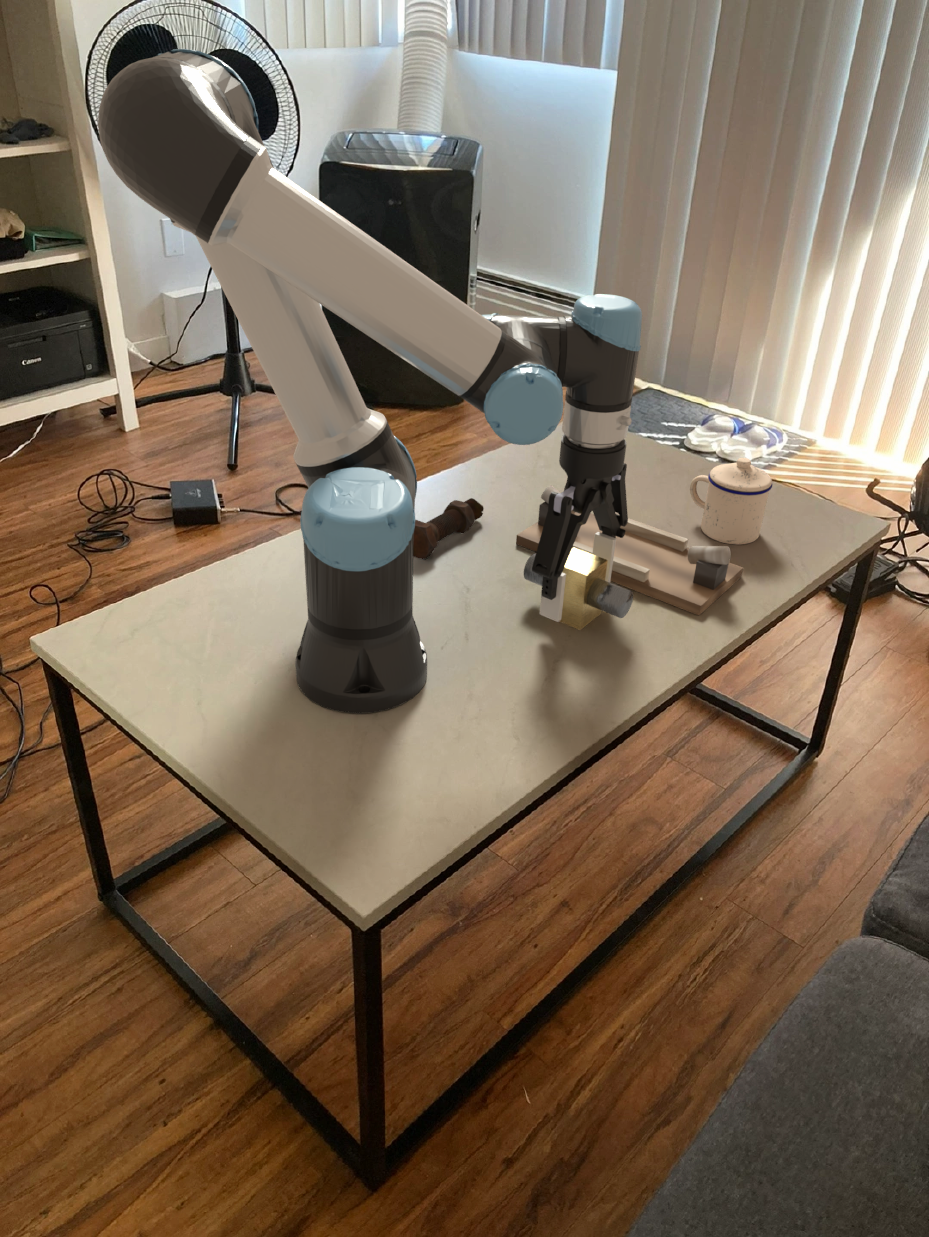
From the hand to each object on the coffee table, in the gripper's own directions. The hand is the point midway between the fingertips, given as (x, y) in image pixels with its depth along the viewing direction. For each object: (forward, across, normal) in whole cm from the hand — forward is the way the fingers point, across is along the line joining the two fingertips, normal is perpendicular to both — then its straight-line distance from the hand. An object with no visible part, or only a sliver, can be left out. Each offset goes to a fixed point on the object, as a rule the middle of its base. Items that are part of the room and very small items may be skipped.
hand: (575, 597), depth 126 cm
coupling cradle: (+3, +17, +2) cm, 17 cm away
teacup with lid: (+3, +35, -4) cm, 35 cm away
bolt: (+3, +6, +25) cm, 26 cm away
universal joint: (+3, 0, 0) cm, 3 cm away
